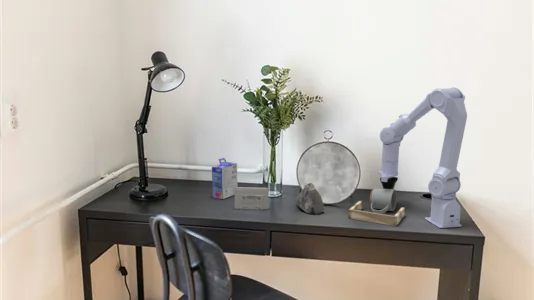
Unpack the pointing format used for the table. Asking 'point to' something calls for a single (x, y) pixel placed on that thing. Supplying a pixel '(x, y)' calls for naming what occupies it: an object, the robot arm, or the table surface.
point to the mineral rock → (310, 200)
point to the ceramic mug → (383, 200)
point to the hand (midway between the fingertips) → (387, 197)
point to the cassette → (251, 203)
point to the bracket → (375, 215)
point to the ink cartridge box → (224, 179)
